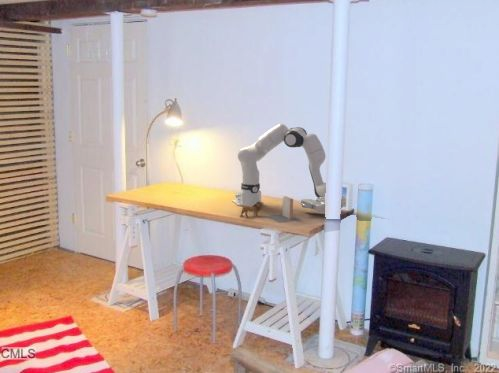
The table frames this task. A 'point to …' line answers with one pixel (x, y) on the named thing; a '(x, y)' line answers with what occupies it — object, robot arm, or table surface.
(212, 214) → the table surface
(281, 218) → the rubber mat
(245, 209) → the lion figurine
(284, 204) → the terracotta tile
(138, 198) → the table surface
